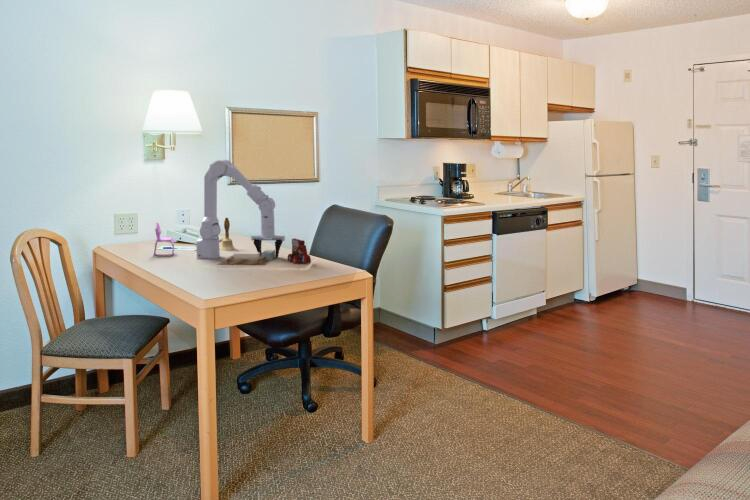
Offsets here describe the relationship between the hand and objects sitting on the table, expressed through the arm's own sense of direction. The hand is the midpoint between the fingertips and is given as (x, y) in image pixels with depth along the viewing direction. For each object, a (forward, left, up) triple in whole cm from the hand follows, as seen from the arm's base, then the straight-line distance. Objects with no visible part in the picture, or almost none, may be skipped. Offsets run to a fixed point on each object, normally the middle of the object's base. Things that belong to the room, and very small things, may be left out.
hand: (268, 256), depth 257 cm
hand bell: (-25, +21, -2) cm, 33 cm away
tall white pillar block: (-7, -10, -1) cm, 12 cm away
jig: (-8, -5, -1) cm, 10 cm away
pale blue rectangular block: (0, 0, -1) cm, 1 cm away
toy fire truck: (+15, -7, -2) cm, 17 cm away
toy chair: (-51, +9, -2) cm, 52 cm away
